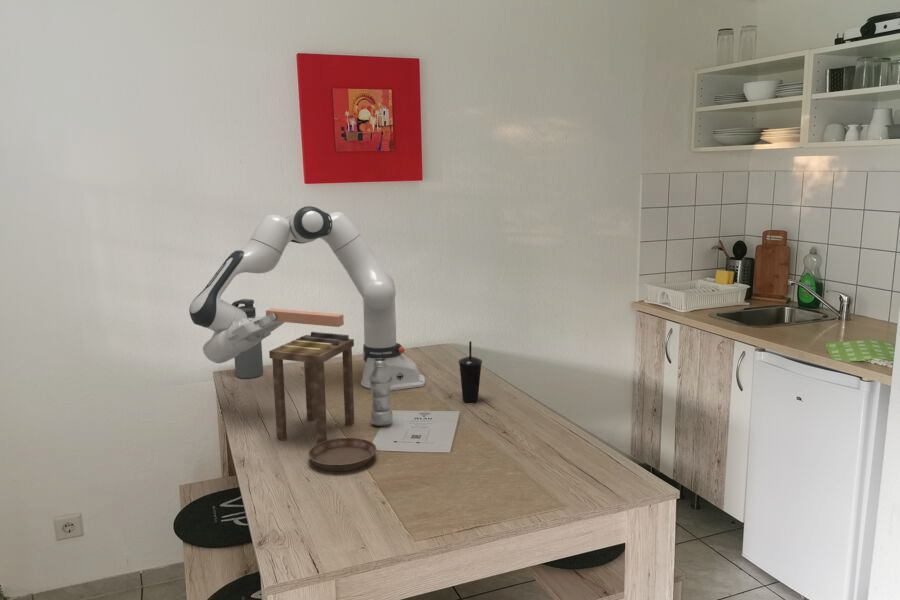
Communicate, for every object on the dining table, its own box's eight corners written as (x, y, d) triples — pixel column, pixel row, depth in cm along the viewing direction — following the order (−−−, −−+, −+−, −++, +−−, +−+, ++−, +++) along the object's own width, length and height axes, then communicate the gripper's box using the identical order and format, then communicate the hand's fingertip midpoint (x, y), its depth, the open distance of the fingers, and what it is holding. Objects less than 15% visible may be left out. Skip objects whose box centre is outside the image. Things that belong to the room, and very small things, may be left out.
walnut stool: (274, 440, 199) (268, 345, 193) (309, 417, 216) (305, 330, 211) (324, 447, 193) (320, 351, 188) (356, 423, 211) (353, 334, 205)
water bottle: (229, 377, 255) (223, 302, 250) (244, 370, 264) (239, 296, 259) (253, 380, 252) (248, 303, 247) (268, 372, 261) (263, 298, 256)
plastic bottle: (389, 429, 206) (388, 363, 202) (367, 427, 207) (365, 362, 203) (395, 421, 212) (394, 357, 208) (374, 419, 213) (372, 356, 209)
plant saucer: (303, 452, 191) (303, 442, 190) (367, 443, 197) (367, 433, 196) (315, 480, 174) (314, 469, 174) (384, 469, 180) (384, 457, 180)
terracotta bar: (266, 320, 207) (265, 310, 207) (272, 318, 210) (271, 308, 209) (338, 327, 199) (338, 316, 199) (343, 324, 202) (343, 314, 201)
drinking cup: (482, 397, 233) (482, 338, 229) (481, 405, 225) (481, 345, 221) (459, 396, 233) (459, 338, 229) (457, 404, 226) (457, 344, 222)
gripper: (219, 332, 203) (253, 311, 197) (261, 317, 222) (293, 298, 216) (230, 351, 203) (264, 331, 198) (271, 334, 222) (303, 316, 216)
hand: (279, 313), depth 207 cm, fingers closed on terracotta bar, 3 cm apart
